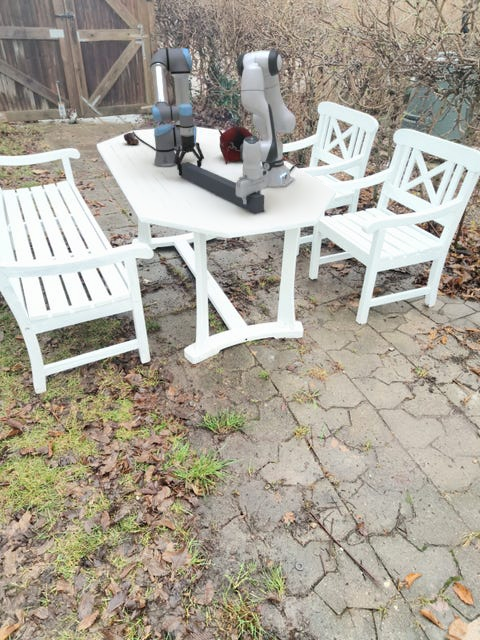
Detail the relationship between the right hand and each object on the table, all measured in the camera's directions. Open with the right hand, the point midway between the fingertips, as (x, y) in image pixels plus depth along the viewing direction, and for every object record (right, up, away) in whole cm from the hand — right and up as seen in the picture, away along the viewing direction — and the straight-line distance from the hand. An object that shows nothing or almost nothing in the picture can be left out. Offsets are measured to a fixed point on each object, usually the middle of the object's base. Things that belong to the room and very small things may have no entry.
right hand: (251, 201), depth 223 cm
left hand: (-35, +27, +41) cm, 61 cm away
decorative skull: (-8, +49, +79) cm, 93 cm away
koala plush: (-49, +66, +104) cm, 133 cm away
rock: (-88, +73, +115) cm, 162 cm away
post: (-18, +11, +23) cm, 31 cm away
